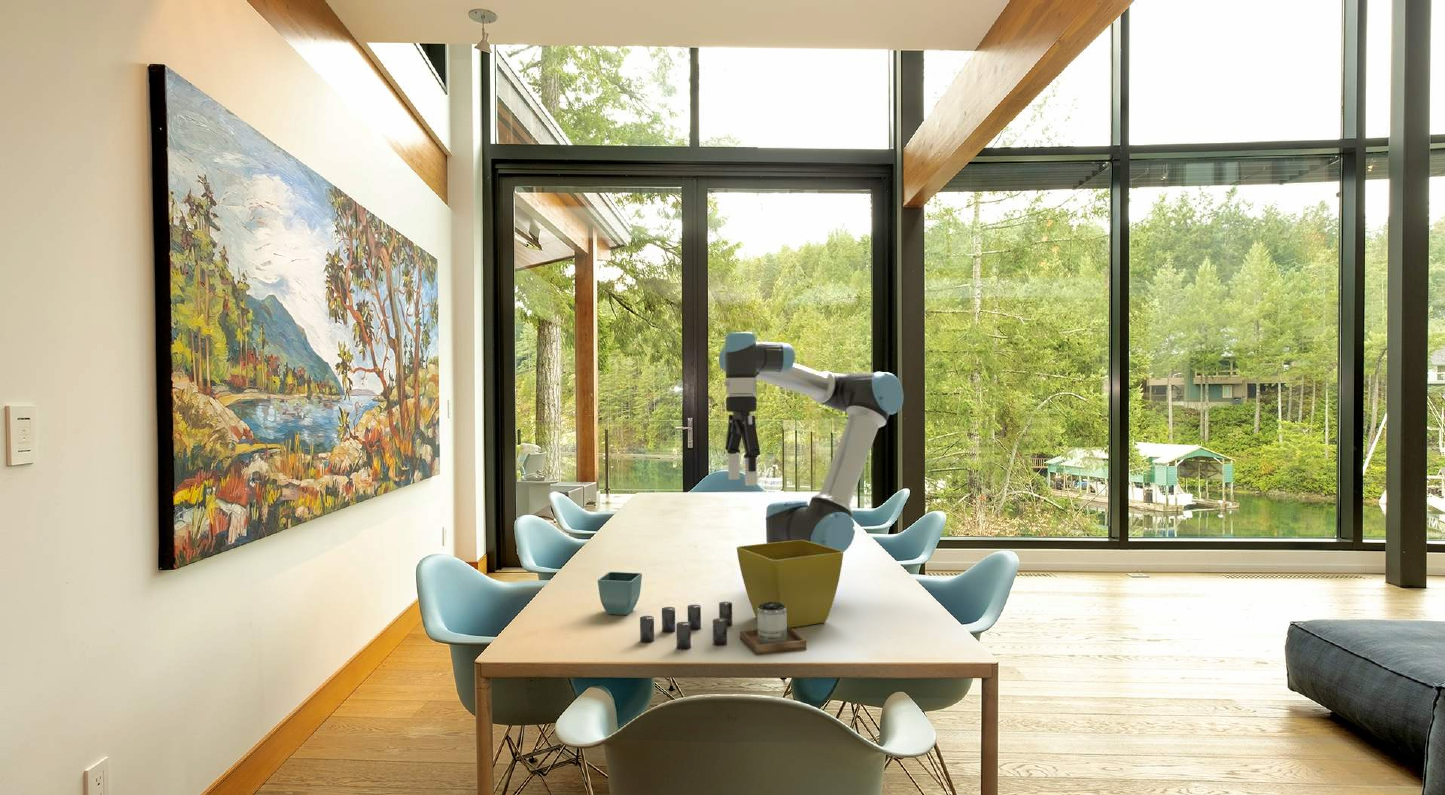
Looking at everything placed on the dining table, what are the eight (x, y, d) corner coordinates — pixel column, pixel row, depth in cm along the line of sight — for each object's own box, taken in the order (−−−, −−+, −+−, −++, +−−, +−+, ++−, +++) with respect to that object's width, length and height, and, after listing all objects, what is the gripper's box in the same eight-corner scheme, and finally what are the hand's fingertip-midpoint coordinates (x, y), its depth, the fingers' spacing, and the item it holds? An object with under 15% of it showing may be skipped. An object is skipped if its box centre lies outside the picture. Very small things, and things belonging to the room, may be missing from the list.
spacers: (730, 622, 184) (729, 601, 184) (751, 642, 169) (750, 619, 169) (634, 632, 178) (634, 609, 178) (647, 653, 163) (647, 629, 163)
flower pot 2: (735, 615, 190) (734, 545, 190) (803, 605, 199) (802, 538, 199) (774, 636, 173) (773, 560, 173) (846, 624, 181) (845, 551, 181)
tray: (787, 634, 175) (787, 626, 175) (806, 649, 164) (806, 640, 164) (740, 639, 172) (740, 630, 172) (756, 655, 161) (756, 646, 161)
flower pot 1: (632, 618, 189) (631, 581, 189) (597, 616, 191) (596, 579, 190) (643, 608, 197) (642, 572, 197) (609, 607, 199) (609, 571, 199)
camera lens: (791, 639, 169) (791, 602, 169) (779, 647, 164) (778, 609, 164) (765, 635, 172) (765, 599, 172) (752, 643, 167) (751, 606, 167)
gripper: (712, 395, 204) (713, 477, 204) (742, 395, 180) (743, 488, 180) (740, 395, 206) (741, 476, 206) (773, 395, 182) (774, 487, 182)
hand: (742, 482), depth 193 cm, fingers open, 13 cm apart
